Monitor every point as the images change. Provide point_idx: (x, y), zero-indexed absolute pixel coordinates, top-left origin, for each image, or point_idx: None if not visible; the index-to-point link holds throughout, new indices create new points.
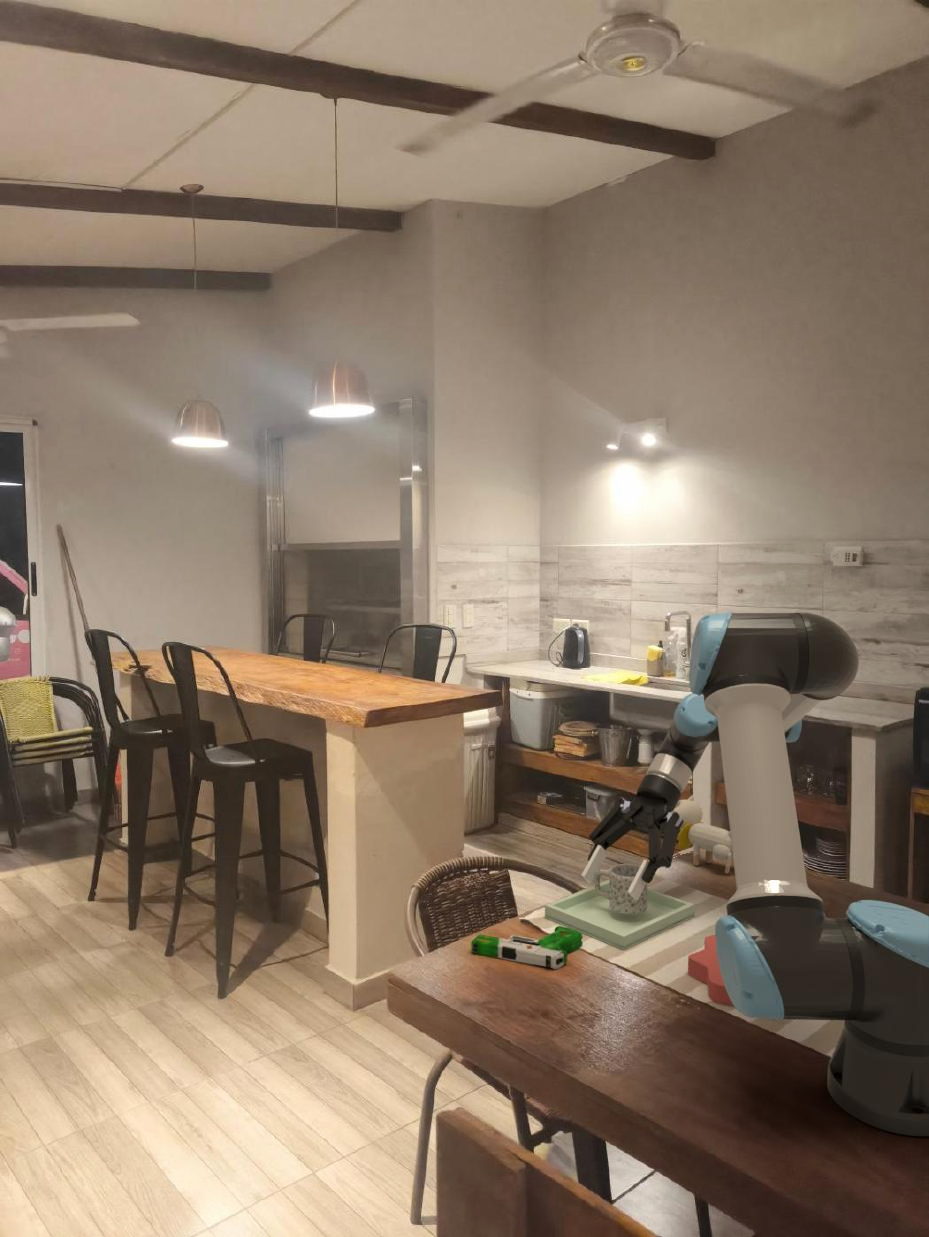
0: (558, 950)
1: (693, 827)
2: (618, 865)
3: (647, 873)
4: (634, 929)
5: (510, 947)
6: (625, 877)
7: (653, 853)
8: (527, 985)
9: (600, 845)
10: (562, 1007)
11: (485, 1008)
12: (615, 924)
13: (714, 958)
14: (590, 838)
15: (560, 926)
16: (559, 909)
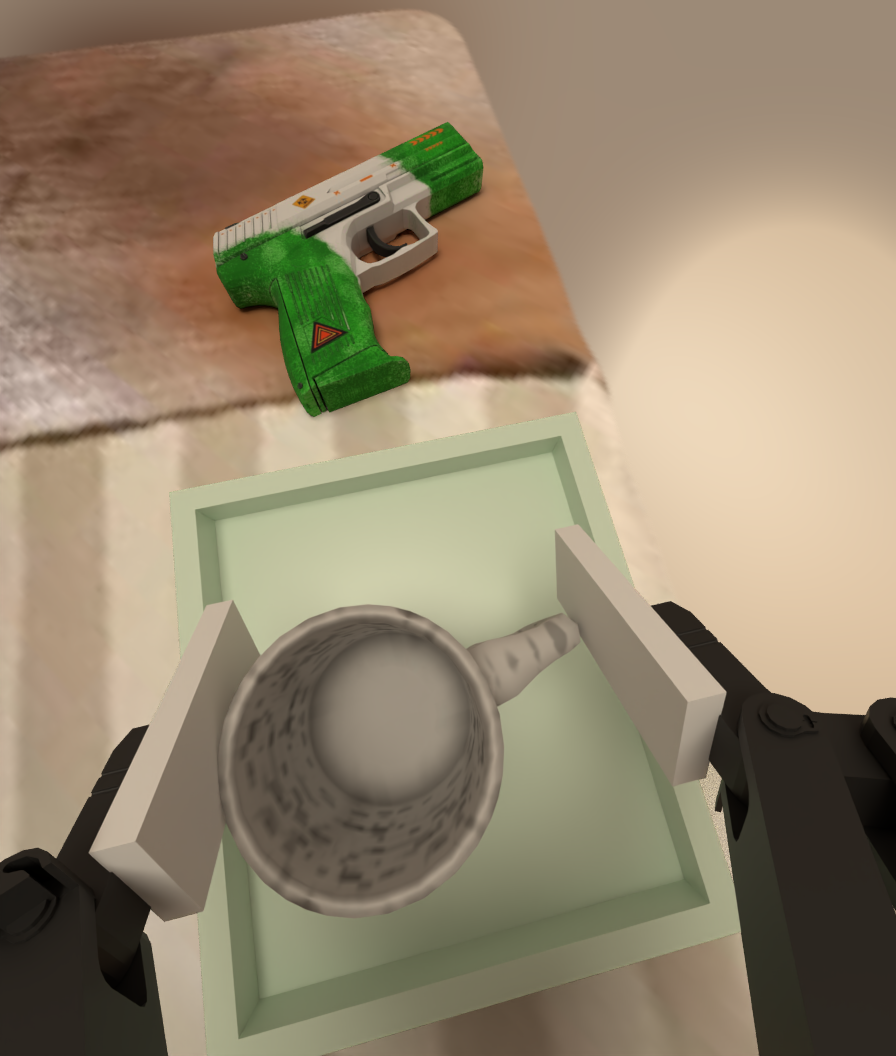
0: (225, 249)
1: None
2: (487, 750)
3: (123, 774)
4: (189, 569)
5: (345, 172)
6: (277, 639)
7: (5, 997)
8: (211, 179)
9: (728, 728)
10: (68, 188)
11: (187, 72)
12: (354, 599)
13: None
14: (884, 700)
15: (384, 359)
16: (512, 434)
